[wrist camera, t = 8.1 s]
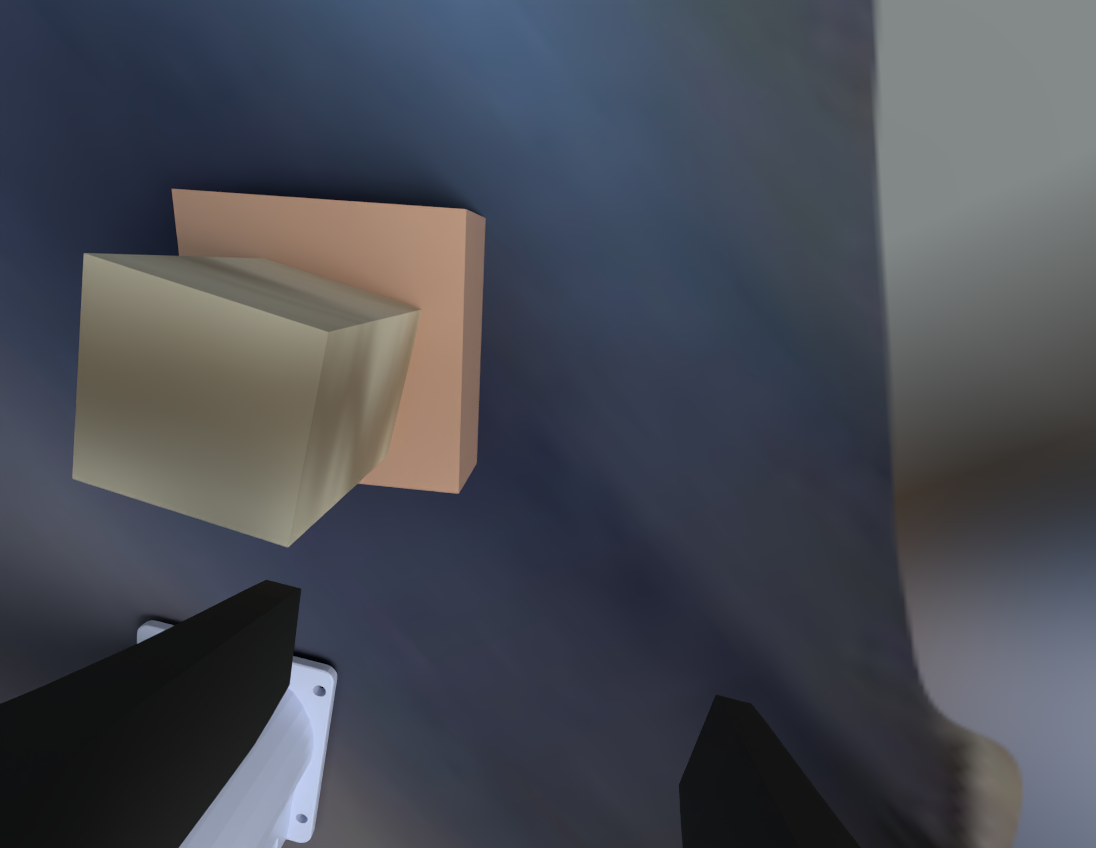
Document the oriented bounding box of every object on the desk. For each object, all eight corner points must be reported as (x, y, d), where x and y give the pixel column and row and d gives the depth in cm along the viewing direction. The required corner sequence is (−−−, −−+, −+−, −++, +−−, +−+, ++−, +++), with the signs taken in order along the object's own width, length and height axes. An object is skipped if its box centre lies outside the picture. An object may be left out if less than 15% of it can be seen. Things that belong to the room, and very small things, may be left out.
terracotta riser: (478, 459, 19) (458, 493, 16) (260, 438, 20) (203, 468, 17) (488, 219, 17) (466, 208, 14) (241, 201, 17) (171, 188, 14)
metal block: (387, 456, 16) (287, 547, 11) (242, 409, 16) (72, 478, 11) (422, 309, 15) (328, 331, 10) (264, 258, 15) (83, 252, 10)
